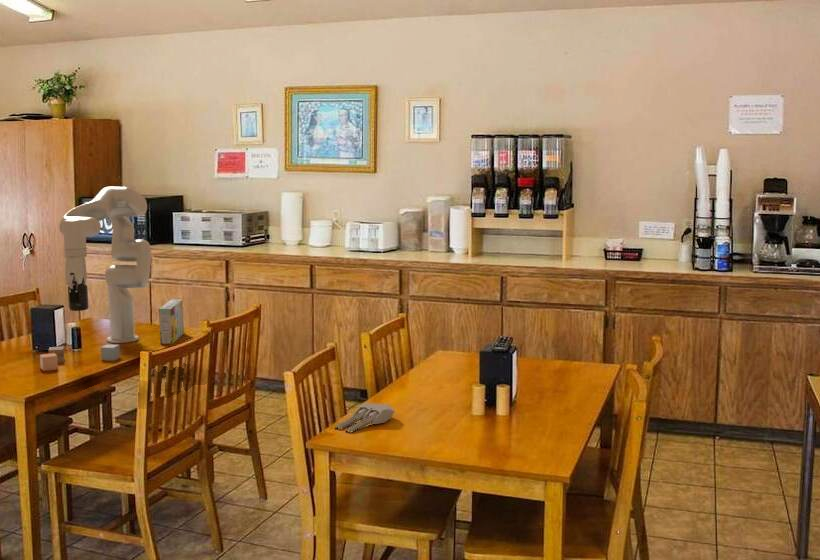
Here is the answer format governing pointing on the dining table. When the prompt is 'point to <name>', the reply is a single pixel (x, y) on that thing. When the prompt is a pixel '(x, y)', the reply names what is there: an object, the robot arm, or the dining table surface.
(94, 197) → the robot arm
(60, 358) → the walnut block
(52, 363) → the terracotta block
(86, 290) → the supplement bottle
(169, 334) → the snack box
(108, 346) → the slate block
